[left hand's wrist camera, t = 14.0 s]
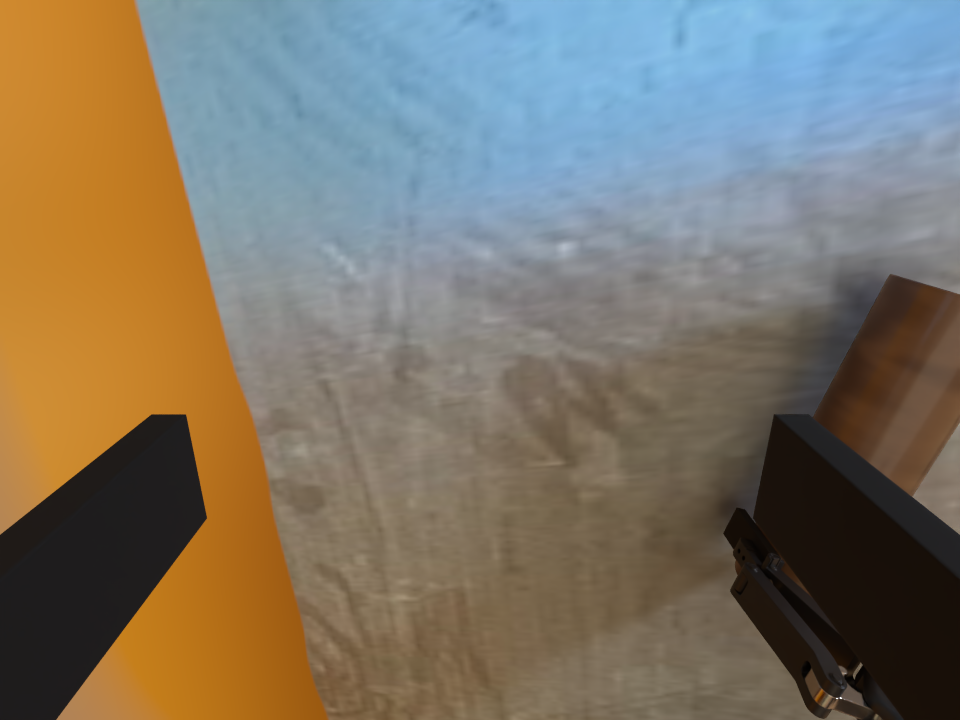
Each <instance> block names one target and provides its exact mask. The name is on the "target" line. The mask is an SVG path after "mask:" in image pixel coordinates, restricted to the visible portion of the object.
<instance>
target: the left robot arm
mask: <svg viewBox="0 0 960 720" xmlns="http://www.w3.org/2000/svg"><path fill="white" fill-rule="evenodd" d="M206 519H207V516H206V511H205V506H204V501H203V496H202V491H201V486H200V481H199V476H198V472H197V467H196V462H195V457H194V452H193V447H192V442H191V437H190V432H189V427H188V422H187V417H186V415H150V416H149V417H148V418H147V419H146V420H144V421H143V422H142V423H140V424H139V425H138V426H137V427H135V428H134V429H133V430H132V431H130V432H129V433H128V434H127V435H125V436H124V437H123V438H121V439H120V440H119V441H118V442H116V443H115V444H114V445H113V446H111V447H110V448H109V449H108V450H106V451H105V452H104V453H103V454H101V455H100V456H99V457H98V458H96V459H95V460H94V461H93V462H91V463H90V464H89V465H88V466H86V467H85V468H84V469H82V470H81V471H80V472H79V473H77V474H76V475H75V476H74V477H72V478H71V479H70V480H69V481H67V482H66V483H65V484H64V485H62V486H61V487H60V488H59V489H57V490H56V491H55V492H54V493H52V494H51V495H50V496H49V497H47V498H46V499H45V500H44V501H42V502H41V503H40V504H39V505H37V506H36V507H35V508H34V509H32V510H31V511H30V512H28V513H27V514H26V515H25V516H23V517H22V518H21V519H20V520H18V521H17V522H16V523H15V524H13V525H12V526H11V527H10V528H8V529H7V530H6V531H4V532H3V533H2V534H1V535H0V720H56V719H57V718H58V716H59V715H60V714H61V712H62V711H63V710H64V708H65V707H66V706H67V704H68V703H69V702H70V700H71V699H72V698H73V696H74V695H75V694H76V692H77V691H78V690H79V688H80V687H81V686H82V684H83V683H84V682H85V680H86V679H87V678H88V676H89V675H90V674H91V672H92V671H93V670H94V668H95V667H96V666H97V664H98V663H99V662H100V660H101V659H102V658H103V656H104V655H105V654H106V652H107V651H108V650H109V648H110V647H111V646H112V644H113V643H114V642H115V640H116V639H117V638H118V636H119V635H120V634H121V632H122V631H123V630H124V628H125V627H126V626H127V624H128V623H129V622H130V620H131V619H132V618H133V616H134V615H135V614H136V612H137V611H138V610H139V608H140V607H141V606H142V604H143V603H144V602H145V600H146V599H147V598H148V596H149V595H150V594H151V592H152V591H153V590H154V588H155V587H156V586H157V584H158V583H159V582H160V580H161V579H162V578H163V576H164V575H165V574H166V572H167V571H168V570H169V568H170V567H171V566H172V564H173V563H174V562H175V560H176V559H177V558H178V556H179V555H180V554H181V552H182V551H183V550H184V548H185V547H186V546H187V544H188V543H189V542H190V540H191V539H192V538H193V536H194V535H195V533H196V532H197V531H198V530H199V528H200V527H201V525H202V524H203V523H204V521H205V520H206ZM753 519H754V520H755V521H756V523H757V524H758V525H759V527H760V528H761V530H762V531H763V532H764V534H765V535H766V536H767V538H768V539H769V540H770V542H771V543H772V544H773V546H774V547H775V548H776V550H777V551H778V552H779V554H780V555H781V556H782V558H783V559H784V560H785V562H786V563H787V564H788V566H789V567H790V568H791V570H792V571H793V572H794V574H795V575H796V576H797V578H798V579H799V580H800V582H801V583H802V584H803V586H804V587H805V588H806V590H807V591H808V592H809V594H810V595H811V596H812V598H813V599H814V600H815V602H816V603H817V604H818V606H819V607H820V608H821V610H822V611H823V612H824V614H825V615H826V616H827V618H828V619H829V620H830V622H831V623H832V624H833V626H834V627H835V628H836V630H837V631H838V632H839V634H840V635H841V636H842V638H843V639H844V640H845V642H846V643H847V644H848V646H849V647H850V648H851V650H852V651H853V652H854V654H855V655H856V656H857V658H858V659H859V660H860V662H861V663H862V664H863V666H864V667H865V668H866V670H867V671H868V672H869V674H870V675H871V676H872V678H873V679H874V680H875V682H876V683H877V684H878V686H879V687H880V688H881V690H882V691H883V692H884V694H885V695H886V696H887V698H888V699H889V700H890V702H891V703H892V704H893V706H894V707H895V708H896V710H897V711H898V712H899V714H900V715H901V716H902V718H903V719H904V720H960V535H959V534H958V533H957V532H956V531H954V530H953V529H952V528H950V527H949V526H948V525H947V524H945V523H944V522H943V521H942V520H940V519H939V518H938V517H937V516H935V515H934V514H933V513H932V512H930V511H929V510H928V509H927V508H925V507H924V506H923V505H922V504H920V503H919V502H918V501H917V500H915V499H914V498H913V497H911V496H910V495H909V494H908V493H906V492H905V491H904V490H903V489H901V488H900V487H899V486H898V485H896V484H895V483H894V482H893V481H891V480H890V479H889V478H888V477H886V476H885V475H884V474H883V473H881V472H880V471H879V470H878V469H876V468H875V467H874V466H872V465H871V464H870V463H869V462H867V461H866V460H865V459H864V458H862V457H861V456H860V455H859V454H857V453H856V452H855V451H854V450H852V449H851V448H850V447H849V446H847V445H846V444H845V443H844V442H842V441H841V440H840V439H839V438H837V437H836V436H835V435H833V434H832V433H831V432H830V431H828V430H827V429H826V428H825V427H823V426H822V425H821V424H820V423H818V422H817V421H816V420H815V419H813V418H812V417H811V416H810V415H774V417H773V422H772V427H771V432H770V437H769V442H768V447H767V452H766V457H765V462H764V467H763V472H762V476H761V481H760V486H759V491H758V496H757V501H756V506H755V511H754V516H753Z"/></svg>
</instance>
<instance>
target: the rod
mask: <svg viewBox="0 0 960 720" xmlns="http://www.w3.org/2000/svg"><path fill="white" fill-rule="evenodd" d="M813 419H815V420H816V421H817V422H818V423H820V424H821V425H822V426H823V427H825V428H826V429H827V430H828V431H830V432H831V433H832V434H833V435H835V436H836V437H837V438H839V439H840V440H841V441H842V442H844V443H845V444H846V445H847V446H849V447H850V448H851V449H852V450H854V451H855V452H856V453H857V454H859V455H860V456H861V457H862V458H864V459H865V460H866V461H867V462H869V463H870V464H871V465H872V466H874V467H875V468H876V469H878V470H879V471H880V472H881V473H883V474H884V475H885V476H886V477H888V478H889V479H890V480H891V481H893V482H894V483H895V484H896V485H898V486H899V487H900V488H901V489H903V490H904V491H905V492H906V493H908V494H909V495H910V496H911V497H912V496H913V495H914V493H915V492H916V490H917V488H918V487H919V485H920V484H921V482H922V481H923V479H924V477H925V476H926V474H927V473H928V471H929V470H930V468H931V467H932V465H933V463H934V462H935V460H936V459H937V457H938V456H939V454H940V453H941V451H942V449H943V448H944V446H945V445H946V443H947V442H948V440H949V439H950V437H951V435H952V434H953V432H954V431H955V429H956V428H957V426H958V424H959V423H960V294H957V293H953V292H950V291H947V290H943V289H940V288H936V287H933V286H930V285H926V284H923V283H920V282H916V281H913V280H909V279H906V278H903V277H899V276H896V275H892V274H890V275H889V277H888V279H887V280H886V282H885V284H884V286H883V288H882V290H881V292H880V293H879V295H878V297H877V299H876V301H875V303H874V305H873V306H872V308H871V310H870V312H869V314H868V316H867V318H866V319H865V321H864V323H863V325H862V327H861V329H860V331H859V333H858V334H857V336H856V338H855V340H854V342H853V344H852V346H851V347H850V349H849V351H848V353H847V355H846V357H845V359H844V360H843V362H842V364H841V366H840V368H839V370H838V372H837V373H836V375H835V377H834V379H833V381H832V383H831V385H830V386H829V388H828V390H827V392H826V394H825V396H824V398H823V399H822V401H821V403H820V405H819V407H818V409H817V411H816V412H815V414H814V416H813ZM756 525H757V526H758V528H759V529H760V530H761V528H760V527H759V525H758V524H757V523H756ZM761 532H762V533H763V535H764V536H765V537H766V538H767V536H766V535H765V534H764V532H763V531H762V530H761ZM767 540H768V541H769V543H770V544H771V545H772V547H773V548H774V549H775V551H776V552H777V553H778V555H779V556H780V557H781V558H782V556H781V555H780V554H779V552H778V551H777V550H776V548H775V547H774V546H773V544H772V543H771V542H770V540H769V539H768V538H767ZM782 560H783V561H784V565H783V567H782V569H781V570H782V571H783V572H784V573H785V574H786V575H787V576H789V577H790V578H791V579H792V580H793V581H794V582H795V583H796V584H798V585H799V586H800V587H801V588H802V589H803V590H804V591H805V592H807V593H808V594H809V592H808V591H807V590H806V588H805V587H804V586H803V584H802V583H801V582H800V580H799V579H798V578H797V576H796V575H795V574H794V572H793V571H792V570H791V568H790V567H789V566H788V564H787V563H786V562H785V560H784V559H783V558H782ZM735 569H736V572H737V575H738V574H739V572H740V571H741V569H742V568H741V567H740V565H739V563H738V562H737V560H736V562H735ZM809 595H810V594H809ZM810 596H811V595H810ZM811 597H812V596H811Z"/></svg>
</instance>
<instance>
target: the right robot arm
mask: <svg viewBox="0 0 960 720" xmlns="http://www.w3.org/2000/svg"><path fill="white" fill-rule="evenodd" d="M723 534H724V535H725V537H726V538H727V540H728V541H729V543H730V545H731V546H732V548H733V549H734V551H733V556H734V557H735V559H736V560H737V562H738V563H739V565H740V567H741V568H742V569H741V571H740V572H739V574H738V576H737V578H736V580H735V582H734V584H733V585H732V587H731V589H730V592H731V594H732V595H733V596H734V598H735V599H736V600H737V602H738V603H739V604H740V606H741V607H742V609H743V610H744V611H745V613H746V614H747V615H748V617H749V618H750V619H751V621H752V622H753V624H754V625H755V626H756V628H757V629H758V630H759V632H760V633H761V634H762V636H763V637H764V639H765V640H766V641H767V643H768V644H769V645H770V647H771V648H772V649H773V651H774V652H775V654H776V655H777V656H778V658H779V659H780V660H781V662H782V663H783V664H784V666H785V667H786V669H787V670H788V671H789V673H790V674H791V675H792V677H793V678H794V679H795V681H796V683H797V686H798V688H799V691H800V693H801V695H802V698H803V700H804V703H805V705H806V707H807V708H808V710H809V711H810V712H811V713H813V714H814V715H815V716H817V717H819V718H823V719H824V718H826V717H827V716H828V715H829V713H830V712H831V710H832V709H834V710H837V711H839V712H842V713H845V714H847V715H850V716H853V717H856V718H857V720H904V719H903V718H902V716H901V715H900V714H899V712H898V711H897V710H896V708H895V707H894V706H893V704H892V703H891V702H890V700H889V699H888V698H887V696H886V695H885V694H884V692H883V691H882V690H881V688H880V687H879V686H878V684H877V683H876V682H875V680H874V679H873V678H872V676H871V675H870V674H869V672H868V671H867V670H866V668H865V667H864V666H862V667H861V669H860V670H859V672H858V673H857V675H856V677H855V680H854V678H853V673H854V671H855V670H856V668H857V667H858V665H859V664H860V660H859V659H858V658H857V656H856V655H855V654H854V652H853V651H852V650H851V648H850V647H849V646H848V644H847V643H846V642H845V640H844V639H843V638H842V636H841V635H840V634H839V632H838V631H837V630H836V628H835V627H834V626H833V624H832V623H831V622H830V620H829V619H828V618H827V616H826V615H825V614H824V612H823V611H822V610H821V608H820V607H819V606H818V604H817V603H816V602H815V600H814V599H813V598H812V597H811V596H810V595H809V594H808V593H807V592H805V591H804V590H803V589H802V588H801V587H800V586H799V585H798V584H796V583H795V582H794V581H793V580H792V579H791V578H790V577H789V576H787V575H786V574H785V573H784V572H783V571H782V570H781V569H782V567H783V565H784V561H783V560H782V558H781V557H780V556H779V555H778V553H777V552H776V551H775V549H774V548H773V547H772V545H771V544H770V543H769V541H768V540H767V538H766V537H765V536H764V535H763V533H762V532H761V530H760V529H759V528H758V526H757V525H756V524H755V522H754V521H753V520H752V518H751V517H750V516H749V514H748V513H747V512H746V510H745V509H740V508H736V510H735V512H734V514H733V516H732V518H731V520H730V522H729V523H728V525H727V527H726V529H725V531H724V533H723Z"/></svg>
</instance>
